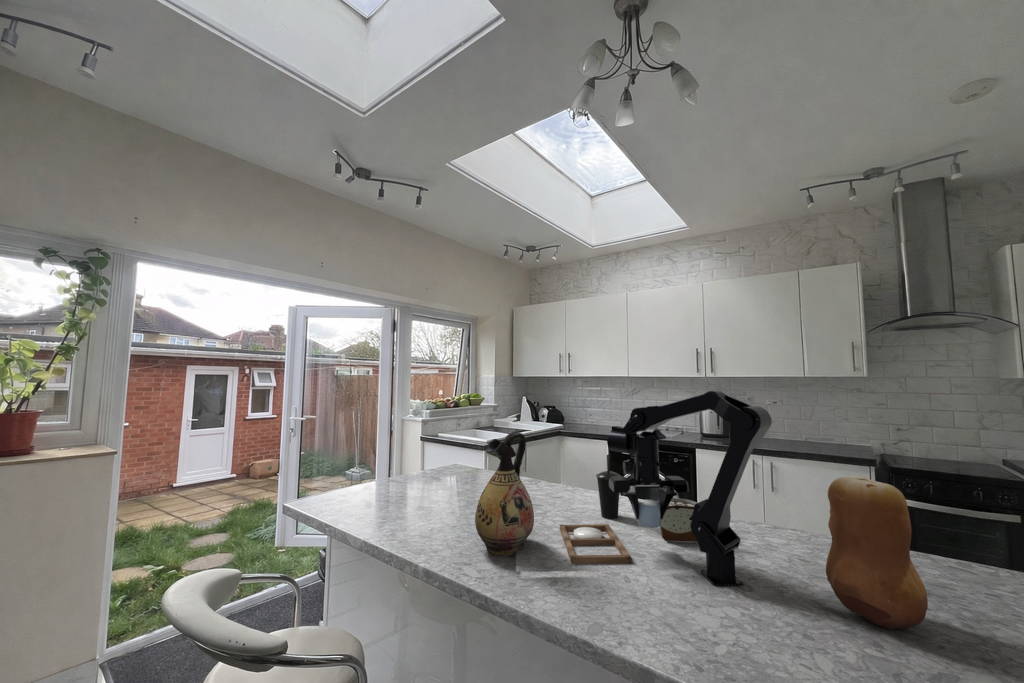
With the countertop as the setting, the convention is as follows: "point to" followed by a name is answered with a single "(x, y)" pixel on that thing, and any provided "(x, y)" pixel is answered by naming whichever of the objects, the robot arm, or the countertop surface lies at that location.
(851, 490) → the butternut squash
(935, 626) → the countertop surface
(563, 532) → the rack
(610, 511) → the drinking cup
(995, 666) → the countertop surface
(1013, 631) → the countertop surface
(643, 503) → the white-capped blue cylinder
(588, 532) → the white smooth oval
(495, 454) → the ceramic jug
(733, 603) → the countertop surface
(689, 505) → the food container
